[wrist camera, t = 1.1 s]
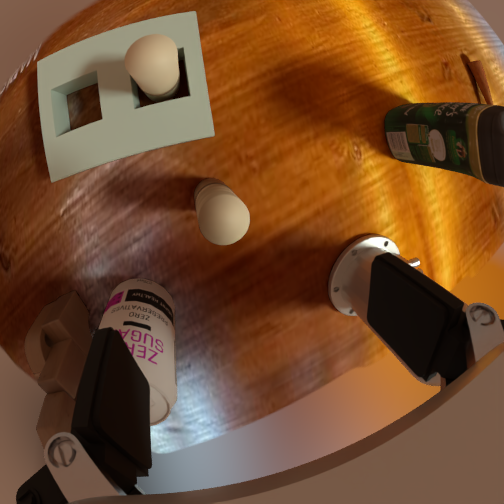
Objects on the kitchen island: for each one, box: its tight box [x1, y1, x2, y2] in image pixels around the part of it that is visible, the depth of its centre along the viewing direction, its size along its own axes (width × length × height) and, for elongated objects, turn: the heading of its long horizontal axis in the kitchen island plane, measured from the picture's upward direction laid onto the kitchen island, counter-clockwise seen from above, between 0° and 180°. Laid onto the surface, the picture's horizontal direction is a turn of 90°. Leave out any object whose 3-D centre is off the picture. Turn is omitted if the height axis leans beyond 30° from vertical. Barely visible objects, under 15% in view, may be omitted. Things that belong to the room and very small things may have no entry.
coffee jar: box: [385, 102, 504, 187], centre depth 22 cm, size 10×8×19 cm
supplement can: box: [98, 278, 177, 426], centre depth 24 cm, size 8×8×15 cm
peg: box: [194, 178, 250, 245], centre depth 23 cm, size 4×4×10 cm
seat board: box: [37, 11, 215, 183], centre depth 17 cm, size 16×13×10 cm
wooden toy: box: [25, 290, 93, 450], centre depth 20 cm, size 16×7×25 cm, turn 17°
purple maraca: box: [467, 61, 493, 105], centre depth 30 cm, size 6×6×20 cm
